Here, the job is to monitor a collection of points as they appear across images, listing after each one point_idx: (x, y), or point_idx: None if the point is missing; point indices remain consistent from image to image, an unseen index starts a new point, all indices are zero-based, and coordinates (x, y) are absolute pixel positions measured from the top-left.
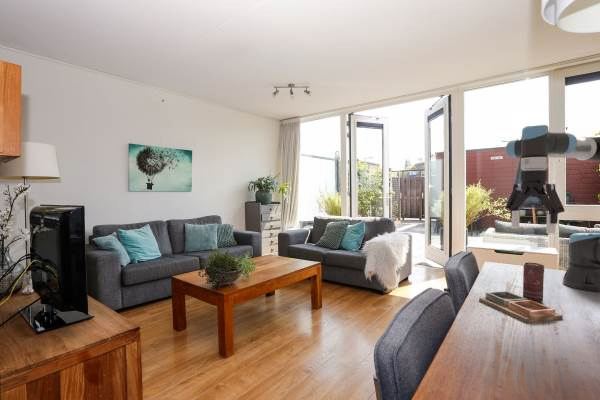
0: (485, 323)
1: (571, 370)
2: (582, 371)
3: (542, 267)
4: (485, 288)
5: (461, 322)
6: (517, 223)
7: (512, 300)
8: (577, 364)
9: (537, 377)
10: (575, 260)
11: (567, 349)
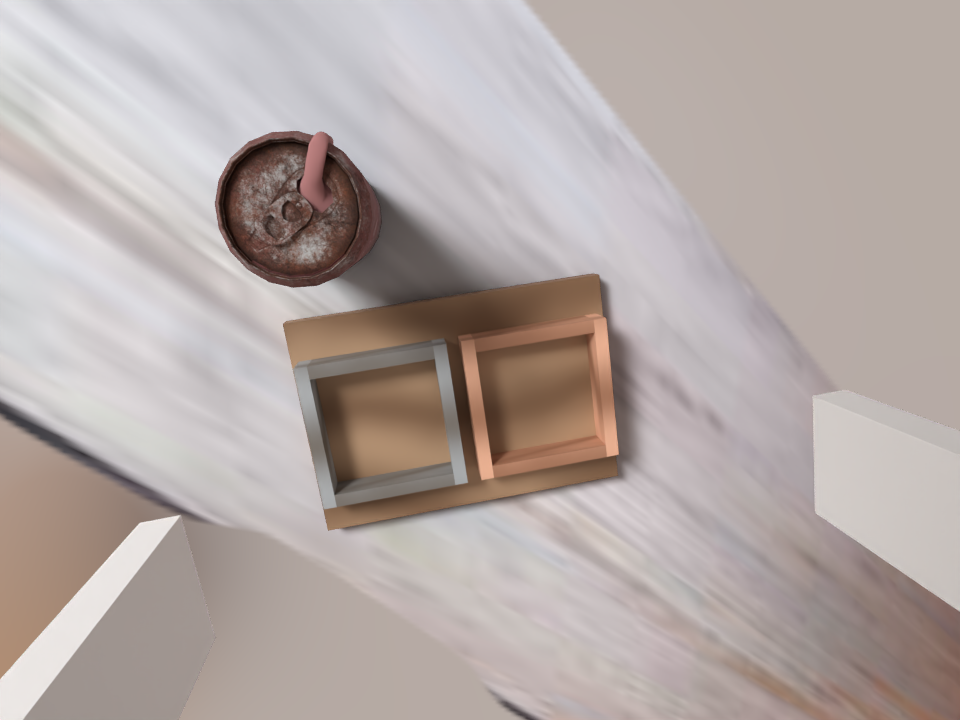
0: (597, 630)
1: None
2: None
3: (360, 179)
4: (81, 356)
5: (578, 711)
6: (151, 611)
7: (461, 442)
8: None
9: (919, 671)
10: None
11: None
